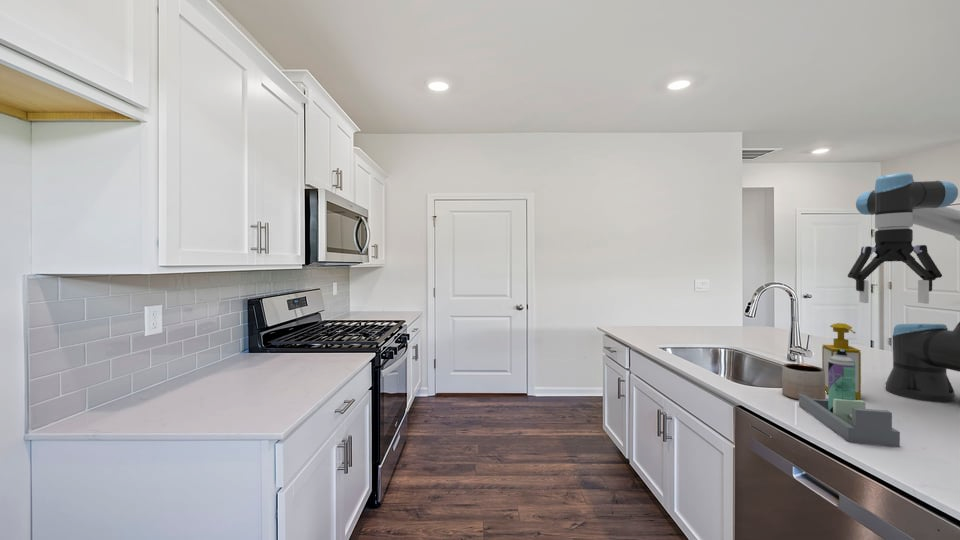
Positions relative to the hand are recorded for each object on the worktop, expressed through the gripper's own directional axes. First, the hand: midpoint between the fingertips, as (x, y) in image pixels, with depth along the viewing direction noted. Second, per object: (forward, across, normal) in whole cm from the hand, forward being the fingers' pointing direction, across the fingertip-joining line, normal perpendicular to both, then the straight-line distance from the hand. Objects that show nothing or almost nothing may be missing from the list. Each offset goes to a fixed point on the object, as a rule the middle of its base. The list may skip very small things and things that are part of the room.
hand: (893, 303), depth 114 cm
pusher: (+32, +18, +18) cm, 41 cm away
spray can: (+32, +18, +12) cm, 39 cm away
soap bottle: (+32, +6, -11) cm, 34 cm away
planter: (+32, +18, -9) cm, 38 cm away
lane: (+32, +18, +13) cm, 39 cm away
